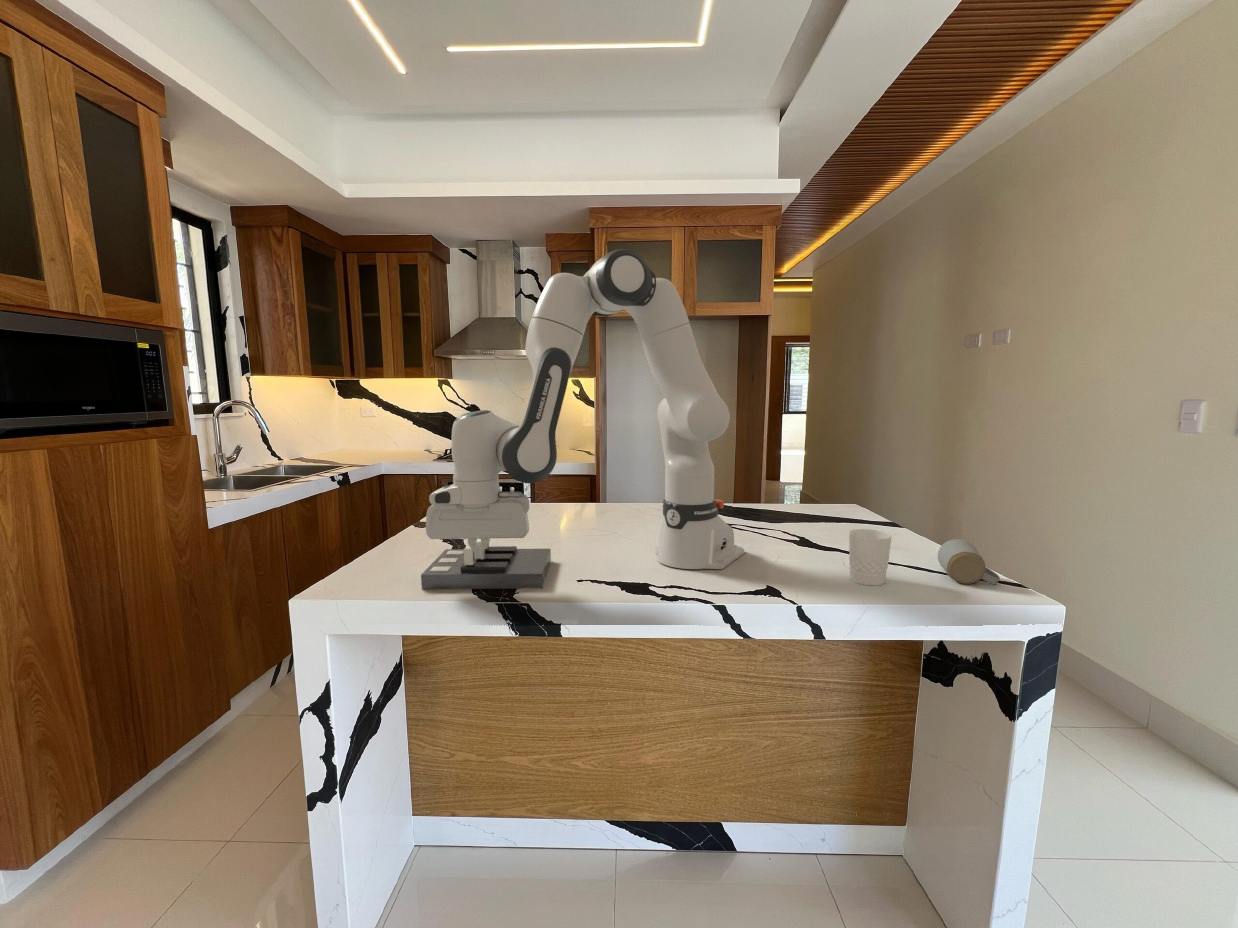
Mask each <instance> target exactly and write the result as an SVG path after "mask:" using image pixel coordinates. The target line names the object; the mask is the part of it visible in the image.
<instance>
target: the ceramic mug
mask: <svg viewBox="0 0 1238 928" xmlns="http://www.w3.org/2000/svg"><path fill="white" fill-rule="evenodd" d="M937 561H938V563H939V565H940V566H941V567H942V569H943V570H944V571H945V574H946V575H947V576H949V578H951V580H953V581H954V582H957V583H959V584H962V585H963V584H965V585H970V584H974V583H977V582H979V581H980V580H983V581H985V582H987V583H989V584H992V585H997V584H998V583H999V581H1000V579H1001V577H1000V576H999V575H998V574H997V573H996V572H995V571H993V570H991V569H990V568H988V567H987V566H986V561H985V560H984V557H983V556H982V555H981V553H980V552H979V551H978V550H977V548H976V546H974V544H972V542H969V541H967V540H965V539H960V538H957V539H956V538H955V539H949V540H947V541H945V542H944V543H943V544H942V545H941V546H940V547H939V549H938V552H937Z"/></svg>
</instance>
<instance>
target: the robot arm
mask: <svg viewBox="0 0 1238 928" xmlns="http://www.w3.org/2000/svg"><path fill="white" fill-rule="evenodd" d="M623 311H625V312H627V313H628V314H629V316H631V317H632V319H633V321H634V323H635V325H636V327H637V330H638V335H639V337H640V341H641V344H642V347H643V351H644V354H645V358H646V359H647V363H648V366H649V367H648V368H649V370H650V373H651V375H652V377H653V378H654V379H655V381H656V383H657V385H658V386H659V388H660V390H661V392H662V395H663V397H664V398H663V399H661V401H660V402H659V404H658V405H657V409H656V417H657V421H658V424H659V429H660V437H661V439H660V440H661V445H662V451H663V458H664V469H665V472H664V473H665V474H664V476H665V477H664V483H665V484H664V495H665V496H664V499H663V500H662V515H663V516H664V517H663V519H661V521H660V529H659V539H658V546H657V547H655V553H656V555H657V557H656V558H657V560H658V562H659V563H660V564H662V565H665V566H667V567H671V568H677V569H683V570H702V569H703V570H705V569H709V570H710V569H711V570H722V569H724V568H725V567H727V566H728V565H730V564H732V563H733V562H734V561H735V560H736V559H738V558H740V557H741V556H742V555H744V554H745V548H743V547H741V546H739V545H737V544H735V533H734V529H733V528H732V527H731V526H730V525H729V524H728V523H727V522H725V520H724V519H722V518H721V517H720V516H719V511H718V509H723V508H724V506H725V501H724V500H723V499H718V498H717V499H714V495H715V466H714V465H715V464H714V462H713V460H712V457H711V453H710V449H709V442H711V441H713V440H717V439H718V438H720V437H721V436H722V435H723V434H724V433H725V432H726V431H727V429H728V428H729V424H730V420H731V416H730V415H731V414H730V410H729V407H728V404H726V402H725V401H724V400H723V399H722V397H720V395H719V392H718V391H717V389H716V387H715V385H714V383H713V381H712V379H711V377H710V376H709V373H708V371H707V369H706V367H705V365H704V363H703V361H702V359H701V356H700V353H699V350H698V346H697V343H696V340H695V337H694V332H693V330H692V327H691V323H690V320H689V317H688V313H687V311H686V308H685V306H684V304H683V301H682V298H681V296H680V295H679V292H678V291H677V288H676V286H675V285H674V283H673V282H672V281H671V280H669V279H668V278H664V277H657V276H656V275H655V273H654V272H653V270H651V269H650V268H649V266H648V264H647V263H646V261H645V260H644V259H643V258H642V256H640V255H639V254H638V253H636V252H635V251H633V250H630V249H624V248H623V249H622V248H620V249H619V248H618V249H615V250H612V251H610V252H608V253H606V254H605V255H604V256H603V257H601V258H600V259H599V258H598V260H596V262H594V263H593V264H592V265H591V267H590V268H589V270H588V271H587V272H585V273H584V274H583V275H582V276H579V275H576V274H574V273H569V272H558V273H555V274H553V275H552V276H551V277H549V279H548V280H547V282H546V284H545V286H544V288H543V290H542V292H541V294H540V296H539V297H538V299H537V302H536V305H535V308H534V311H533V313H532V316H531V319H530V322H529V324H528V325H529V326H528V329H527V334H526V340H525V348H524V349H525V350H524V351H525V356H526V358H527V359H528V361H529V363H530V367H531V369H532V385H531V388H530V389H531V390H530V394H529V397H528V400H527V404H526V408H525V411H524V415H523V419H522V421H521V423H520V424H516V423H513V422H511V421H508V420H506V419H504V418H502V417H500V416H498V415H496V414H495V413H494V412H493V411H491V410H487V409H486V410H484V409H483V410H475V411H470V412H466V413H462V414H460V415H458V416H457V418H456V419H455V420H454V422H453V424H452V428H451V458H452V461H453V466H454V470H453V471H454V472H453V475H452V482H453V483H452V484H448V485H445V486H442V487H441V488H438V489H437V490H435V491H432V493H430V494H429V497H428V498H429V499H428V500H429V503H430V504H431V505H430V506H429V507H428V508H427V511H426V515H425V516H426V518H425V519H426V520H425V534H426V536H427V537H428V538H429V539H430V540H459V539H460V540H467V545H468V547H471V549H472V550H473V552H474V559H475V560H483V559H484V558H485V549H486V547H487V545H488V543H489V544H490V541H491V539H524V538H525V537H526V536H527V535H528V534H529V532H530V522H529V517H528V516H529V515H528V512H529V510H530V499H529V497H528V496H527V495H526V494H524V493H522V492H521V491H514V492H513V491H512V492H510V491H500V482H499V481H500V478H499V475H500V472H501V473H502V472H507V474H508V475H509V476H510V478H512V479H513V480H514V481H517V482H518V483H522V484H535V483H538V482H541V481H542V480H543V481H544V479H546V478H547V477H548V476H550V475H551V473H552V472H553V470H554V468H555V467H556V463H557V457H558V451H557V442H556V432H557V427H558V422H559V418H560V415H561V411H562V407H563V404H564V403H563V402H564V400H565V399H564V398H565V395H566V391H567V388H568V387H567V386H568V383H569V379H570V376H571V373H572V370H573V367H574V364H575V361H576V359H577V356H578V353H579V351H580V349H581V348H580V347H581V345H582V342H583V339H584V335H585V331H586V330H587V329H586V328H587V324H588V323H589V320H590V318H591V317H592V316H597V317H610V316H613V315H615V314H617V313H620V312H623ZM477 539H481V543H482V544H483V543H484V545H483V546H482V548H481V549H479V548H478V546H477V544H476V543H475V542H476V541H477Z"/></svg>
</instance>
